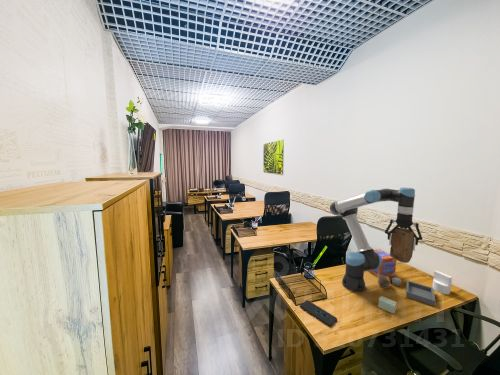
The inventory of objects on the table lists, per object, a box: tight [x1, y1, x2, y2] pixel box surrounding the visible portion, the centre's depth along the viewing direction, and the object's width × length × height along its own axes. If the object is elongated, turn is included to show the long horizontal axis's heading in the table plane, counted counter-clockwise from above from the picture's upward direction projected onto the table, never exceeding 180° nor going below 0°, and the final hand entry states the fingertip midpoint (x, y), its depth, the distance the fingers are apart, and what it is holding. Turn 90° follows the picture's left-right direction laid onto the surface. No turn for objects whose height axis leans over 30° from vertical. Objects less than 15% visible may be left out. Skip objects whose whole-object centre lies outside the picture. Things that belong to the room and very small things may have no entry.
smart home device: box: [299, 299, 338, 328], centre depth 117 cm, size 8×2×20 cm
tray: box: [405, 279, 436, 307], centre depth 134 cm, size 14×17×4 cm
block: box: [389, 227, 415, 264], centre depth 124 cm, size 11×8×20 cm
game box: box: [367, 248, 397, 278], centre depth 161 cm, size 16×16×16 cm
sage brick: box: [377, 295, 397, 315], centre depth 121 cm, size 8×5×5 cm, turn 42°
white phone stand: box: [432, 270, 453, 295], centre depth 138 cm, size 9×9×12 cm
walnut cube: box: [377, 275, 391, 290], centre depth 144 cm, size 6×6×6 cm
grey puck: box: [391, 276, 402, 287], centre depth 146 cm, size 5×5×4 cm
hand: (401, 247), depth 124 cm, fingers closed on block, 11 cm apart
